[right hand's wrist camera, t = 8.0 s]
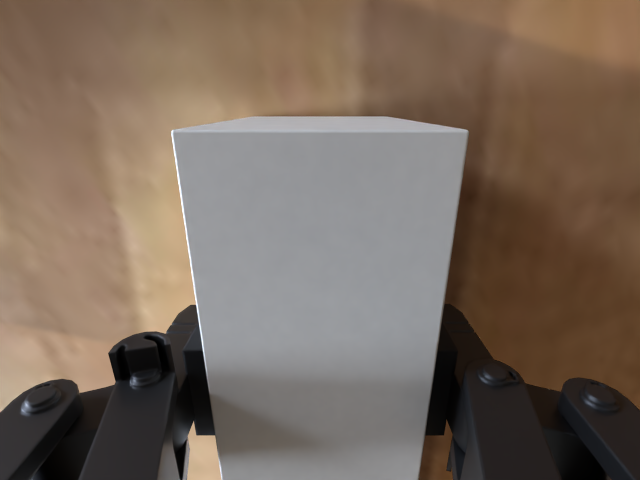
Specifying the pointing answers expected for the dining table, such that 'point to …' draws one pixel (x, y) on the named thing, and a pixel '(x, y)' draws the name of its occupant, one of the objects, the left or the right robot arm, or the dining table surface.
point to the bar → (320, 287)
